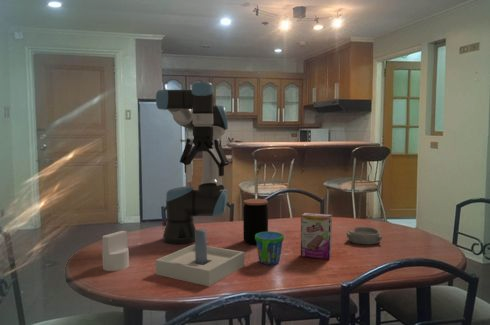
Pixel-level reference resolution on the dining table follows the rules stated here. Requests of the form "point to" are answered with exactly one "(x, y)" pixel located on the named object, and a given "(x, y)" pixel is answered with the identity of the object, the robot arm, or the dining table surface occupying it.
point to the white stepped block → (115, 251)
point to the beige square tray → (208, 274)
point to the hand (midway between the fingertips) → (204, 183)
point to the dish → (364, 235)
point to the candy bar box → (316, 235)
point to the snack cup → (269, 247)
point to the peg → (201, 246)
